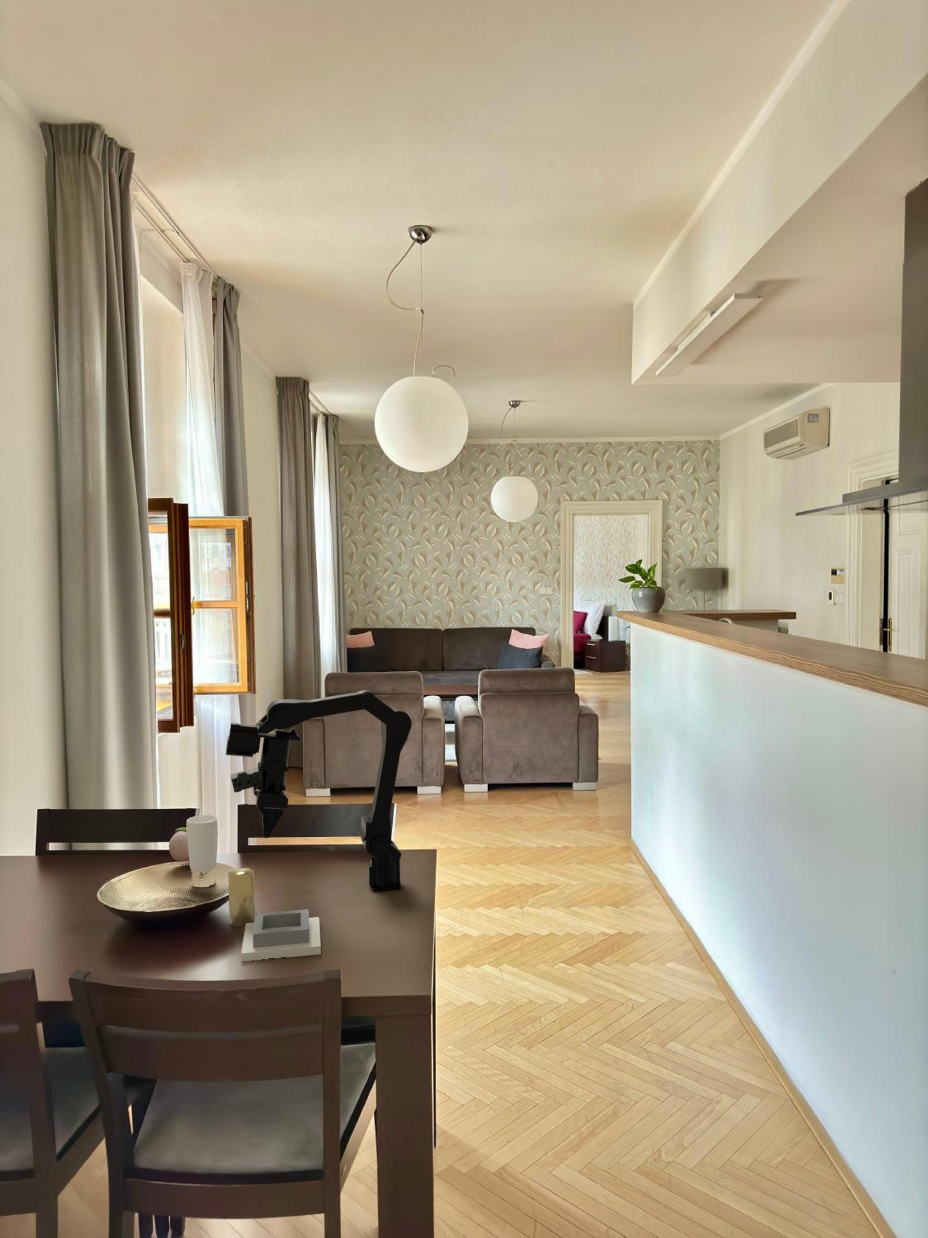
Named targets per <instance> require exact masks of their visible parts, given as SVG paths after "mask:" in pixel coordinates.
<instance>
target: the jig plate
mask: <svg viewBox="0 0 928 1238" xmlns="http://www.w3.org/2000/svg"><path fill="white" fill-rule="evenodd" d="M309 913H310V911H309V908H308V909H307V908H306V909H296V910H284V911H281V910H280V911H269V912H262V913H261V912H260V913H259V912H258V913H255V922H254V923H246V926H244V927H245V928H244V933H243V939H242V945H241V953H240V955H241V956H240V957H241V959H240V961H241V962H251V961H252V960H254V961H261V959H265V960H269V959H268V958H275V959H282V958H281V957H286V958H296V957H307V956H315V955H318V956H319V955H321V954H322V953H321V952H322V948H321V947H322V946H321V945H322V944H321V929H320V926H321V925H320V917H319V916H316V917H309ZM252 962H253V961H252Z"/></svg>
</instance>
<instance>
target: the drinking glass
mask: <svg viewBox="0 0 928 1238" xmlns="http://www.w3.org/2000/svg"><path fill="white" fill-rule="evenodd" d="M185 828H186V834H187V846H188V854H189V862H190V866H189V869H191V870H193V871H195V872H204V871H211V870H213V869H214V868H215V866H216V867H217V857H218V845H219V842H218V841H219V823H218V817H217V816H215V815H211V814H204V815H203V814H202V815H195V816H191V817H189V818H187V819H186V827H185Z"/></svg>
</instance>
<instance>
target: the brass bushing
mask: <svg viewBox="0 0 928 1238" xmlns="http://www.w3.org/2000/svg"><path fill="white" fill-rule="evenodd" d="M227 875H228V877H227V878H228V909H229V911H228V912H229V913H228V914H229V915H228V916H229V917H228V918H229V925H230V926H232V927H236V928H237V927H239V928H240V927H241V928H242V927H245V926H246V923H255V915H256V893H255V890H256V889H255V870H254V869H252V868H250V867H249V868H247V867H244V868H243V867H242V868H235V869H232V870H230V871H229V872H228V873H227Z"/></svg>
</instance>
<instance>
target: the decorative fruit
mask: <svg viewBox="0 0 928 1238" xmlns="http://www.w3.org/2000/svg"><path fill="white" fill-rule="evenodd" d="M174 832H175V833H174V834H173V835H172V836H171V838H170V840H169V842H168V850H169V854H170V855H171V857H172V858H173V860H175V861H176V860H177V861H176V862H178V861H189V854H188V846H187V834H186V827H179V828H175V831H174Z"/></svg>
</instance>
